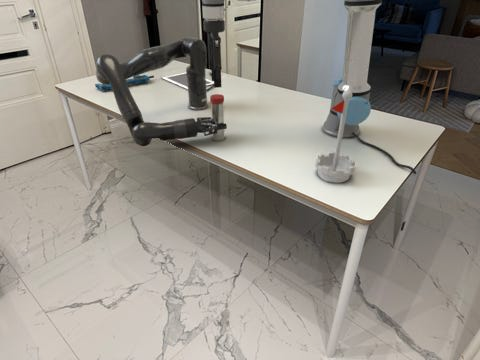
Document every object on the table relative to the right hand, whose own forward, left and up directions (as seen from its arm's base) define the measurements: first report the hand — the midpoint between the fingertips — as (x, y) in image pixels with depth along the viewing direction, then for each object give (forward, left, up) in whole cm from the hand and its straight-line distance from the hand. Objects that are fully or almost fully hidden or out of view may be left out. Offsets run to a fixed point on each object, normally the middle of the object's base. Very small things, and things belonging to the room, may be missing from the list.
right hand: (216, 83), depth 131 cm
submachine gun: (+96, +23, -23) cm, 101 cm away
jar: (0, 0, -23) cm, 23 cm away
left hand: (0, -3, -17) cm, 17 cm away
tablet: (+83, -14, -23) cm, 87 cm away
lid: (0, 0, -5) cm, 5 cm away
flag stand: (-44, -26, -23) cm, 56 cm away
